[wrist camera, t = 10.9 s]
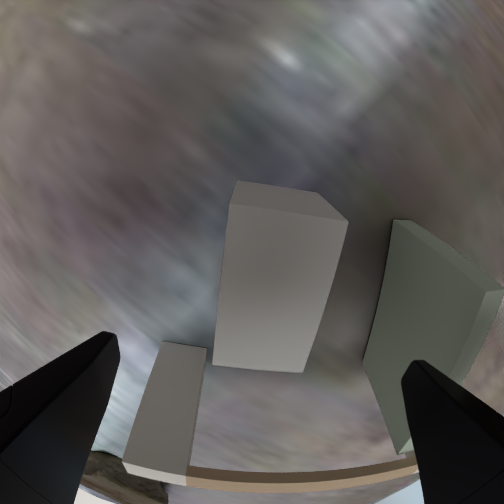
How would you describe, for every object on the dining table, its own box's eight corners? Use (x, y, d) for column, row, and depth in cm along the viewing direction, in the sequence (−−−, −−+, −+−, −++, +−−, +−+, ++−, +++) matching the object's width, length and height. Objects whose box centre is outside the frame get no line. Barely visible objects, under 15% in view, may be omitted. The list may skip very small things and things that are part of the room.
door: (391, 358, 18) (432, 444, 11) (362, 362, 18) (396, 455, 11) (428, 220, 14) (521, 286, 7) (393, 219, 14) (485, 292, 7)
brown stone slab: (51, 446, 28) (42, 465, 24) (84, 432, 24) (73, 459, 20) (135, 494, 33) (130, 512, 29) (188, 488, 29) (185, 512, 25)
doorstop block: (317, 192, 14) (348, 221, 9) (290, 311, 17) (302, 372, 12) (237, 180, 14) (229, 203, 9) (221, 303, 16) (212, 364, 12)
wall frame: (411, 358, 18) (460, 450, 10) (403, 372, 19) (446, 462, 11) (162, 341, 17) (121, 461, 9) (163, 357, 18) (127, 472, 10)
